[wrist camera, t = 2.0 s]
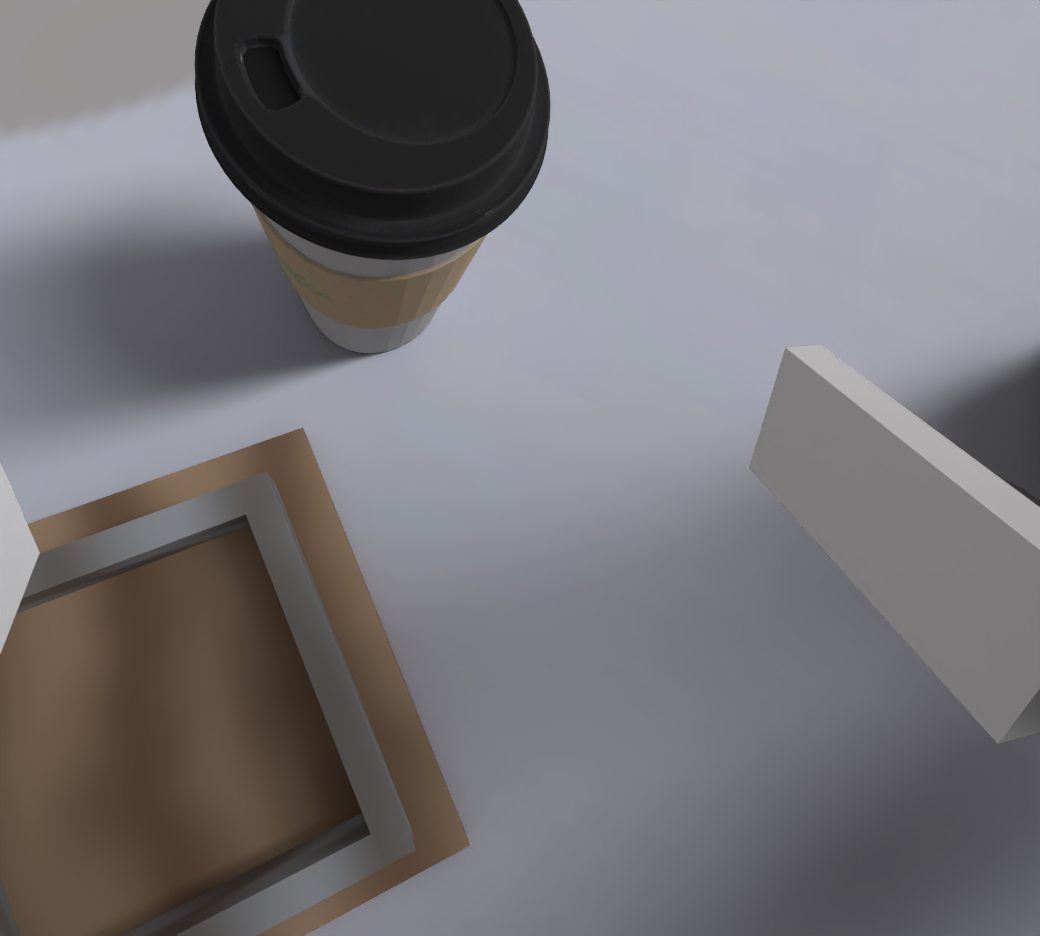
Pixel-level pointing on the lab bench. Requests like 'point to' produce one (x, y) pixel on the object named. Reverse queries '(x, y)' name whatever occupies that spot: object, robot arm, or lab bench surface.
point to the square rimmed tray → (207, 716)
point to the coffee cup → (374, 144)
